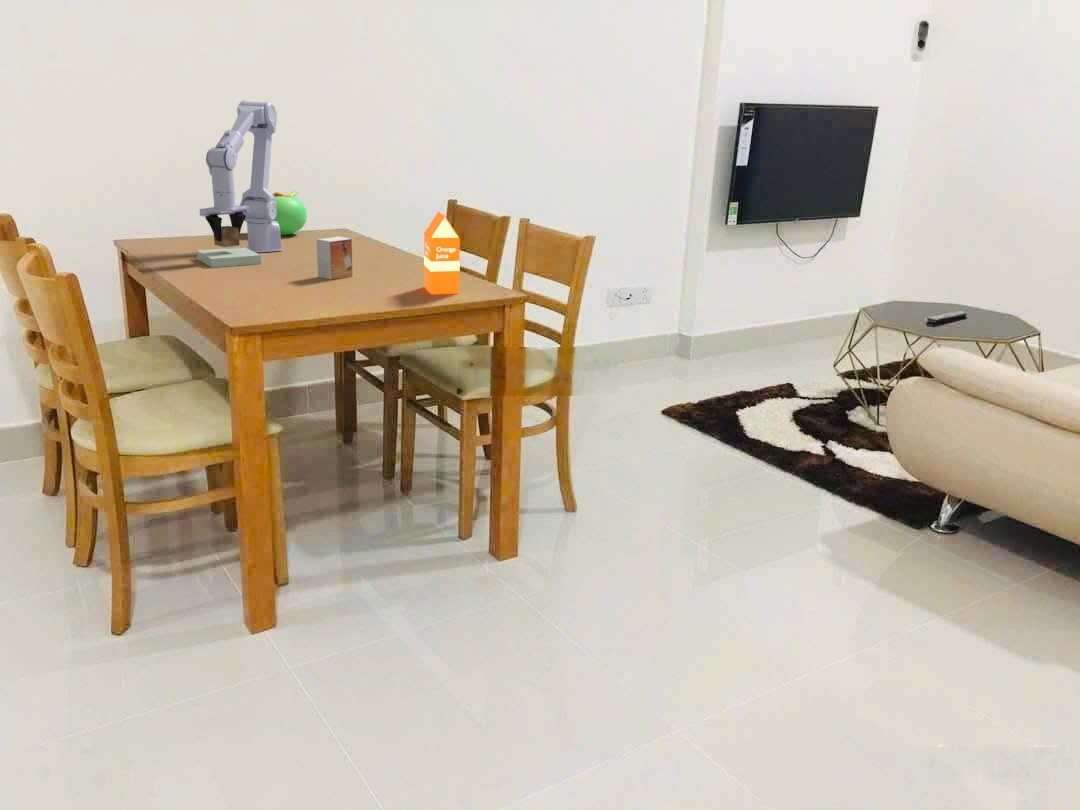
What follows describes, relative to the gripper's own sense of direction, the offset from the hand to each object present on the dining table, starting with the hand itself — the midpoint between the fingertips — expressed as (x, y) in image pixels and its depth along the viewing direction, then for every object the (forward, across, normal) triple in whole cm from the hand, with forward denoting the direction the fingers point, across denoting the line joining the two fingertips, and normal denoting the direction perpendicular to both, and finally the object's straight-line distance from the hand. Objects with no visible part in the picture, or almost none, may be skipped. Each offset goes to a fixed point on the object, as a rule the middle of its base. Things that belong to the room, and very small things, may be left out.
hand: (227, 239), depth 255 cm
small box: (+6, -11, +35) cm, 38 cm away
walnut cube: (+2, 0, 0) cm, 2 cm away
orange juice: (+6, -23, +66) cm, 70 cm away
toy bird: (+6, -38, -31) cm, 50 cm away
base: (+6, 0, 0) cm, 6 cm away
